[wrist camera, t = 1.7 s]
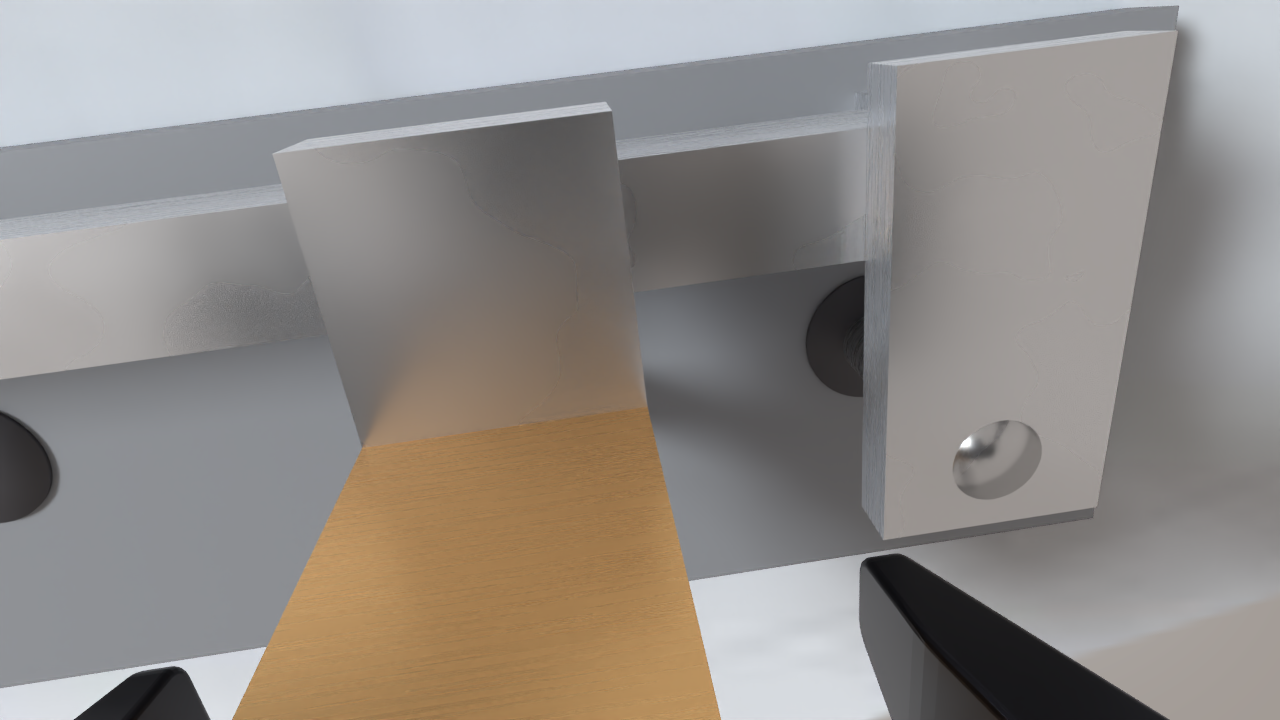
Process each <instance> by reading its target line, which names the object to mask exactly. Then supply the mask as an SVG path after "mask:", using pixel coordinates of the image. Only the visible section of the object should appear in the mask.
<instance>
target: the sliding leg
mask: <svg viewBox="0 0 1280 720" xmlns="http://www.w3.org/2000/svg"><path fill="white" fill-rule="evenodd" d="M272 155H273V158H274V161H275V164H276V168H277V171H278V174H279V178H280V181H281V184H282V187H283V191H284V194H285V197H286V200H287V204H288V207H289V210H290V214H291V217H292V220H293V223H294V227H295V230H296V233H297V236H298V240H299V243H300V246H301V250H302V253H303V256H304V259H305V263H306V266H307V269H308V272H309V276H310V279H311V282H312V286H313V289H314V292H315V295H316V299H317V302H318V305H319V308H320V312H321V315H322V318H323V322H324V325H325V328H326V331H327V335H328V338H329V341H330V344H331V348H332V351H333V354H334V358H335V361H336V364H337V367H338V371H339V374H340V377H341V380H342V384H343V387H344V390H345V394H346V397H347V400H348V403H349V407H350V410H351V413H352V416H353V420H354V423H355V426H356V429H357V433H358V436H359V439H360V443H361V446H362V449H361V451H360V454H359V456H358V458H357V460H356V462H355V464H354V466H353V468H352V470H351V472H350V474H349V477H348V479H347V481H346V483H345V485H344V487H343V489H342V491H341V493H340V495H339V497H338V500H337V502H336V504H335V506H334V508H333V510H332V512H331V514H330V516H329V518H328V520H327V523H326V525H325V527H324V529H323V531H322V533H321V535H320V537H319V539H318V541H317V543H316V546H315V548H314V550H313V552H312V554H311V556H310V558H309V560H308V562H307V564H306V566H305V568H304V571H303V573H302V575H301V577H300V579H299V581H298V583H297V585H296V587H295V589H294V591H293V594H292V596H291V598H290V600H289V602H288V604H287V606H286V608H285V610H284V612H283V614H282V617H281V619H280V621H279V623H278V625H277V627H276V629H275V631H274V633H273V635H272V637H271V640H270V642H269V644H268V646H267V648H266V650H265V652H264V654H263V656H262V658H261V660H260V663H259V665H258V667H257V669H256V671H255V673H254V675H253V677H252V679H251V681H250V683H249V686H248V688H247V690H246V692H245V694H244V696H243V698H242V700H241V702H240V704H239V706H238V708H237V711H236V713H235V715H234V717H233V719H232V720H721V717H720V713H719V709H718V705H717V700H716V696H715V692H714V688H713V683H712V679H711V675H710V671H709V666H708V662H707V658H706V654H705V649H704V645H703V641H702V637H701V632H700V628H699V624H698V620H697V615H696V611H695V607H694V603H693V598H692V594H691V590H690V586H689V581H688V577H687V573H686V568H685V564H684V560H683V556H682V551H681V547H680V543H679V539H678V534H677V530H676V526H675V522H674V517H673V513H672V509H671V505H670V500H669V496H668V492H667V488H666V483H665V479H664V475H663V471H662V466H661V462H660V458H659V454H658V449H657V445H656V441H655V437H654V432H653V428H652V424H651V420H650V415H649V411H648V407H647V399H646V390H645V382H644V374H643V365H642V357H641V349H640V340H639V332H638V324H637V315H636V307H635V299H634V290H633V282H632V274H631V265H630V257H629V249H628V240H627V232H626V224H625V216H624V207H623V199H622V191H621V182H620V174H619V166H618V157H617V149H616V141H615V132H614V124H613V116H612V110H611V109H610V107H609V106H608V104H607V103H606V102H599V103H591V104H583V105H575V106H568V107H560V108H552V109H544V110H536V111H528V112H520V113H512V114H504V115H496V116H488V117H480V118H472V119H464V120H456V121H448V122H440V123H432V124H424V125H416V126H408V127H401V128H393V129H385V130H377V131H369V132H361V133H353V134H345V135H337V136H329V137H321V138H313V139H307V140H304V141H302V142H300V143H297V144H295V145H292V146H290V147H288V148H285V149H283V150H280V151H278V152H275V153H273V154H272Z"/></svg>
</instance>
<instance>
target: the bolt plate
mask: <svg viewBox="0 0 1280 720" xmlns="http://www.w3.org/2000/svg"><path fill="white" fill-rule="evenodd" d="M1178 10H1179V6H1160V7H1138V8H1123V9H1115V10H1107V11H1099V12H1091V13H1083V14H1075V15H1067V16H1059V17H1051V18H1043V19H1035V20H1027V21H1018V22H1010V23H1002V24H994V25H986V26H978V27H970V28H962V29H954V30H946V31H938V32H930V33H922V34H914V35H906V36H897V37H889V38H881V39H873V40H865V41H857V42H849V43H841V44H833V45H825V46H817V47H809V48H801V49H793V50H785V51H777V52H768V53H760V54H752V55H744V56H736V57H728V58H720V59H712V60H704V61H696V62H688V63H680V64H672V65H664V66H656V67H647V68H639V69H631V70H623V71H615V72H607V73H599V74H591V75H583V76H575V77H567V78H559V79H551V80H543V81H535V82H526V83H518V84H510V85H502V86H494V87H486V88H478V89H470V90H462V91H454V92H446V93H438V94H430V95H422V96H414V97H405V98H397V99H389V100H381V101H373V102H365V103H357V104H349V105H341V106H333V107H325V108H317V109H309V110H301V111H293V112H284V113H276V114H268V115H260V116H252V117H244V118H236V119H228V120H220V121H212V122H204V123H196V124H188V125H180V126H172V127H164V128H155V129H147V130H139V131H131V132H123V133H115V134H107V135H99V136H91V137H83V138H75V139H67V140H59V141H51V142H43V143H34V144H26V145H18V146H10V147H2V148H0V220H2V219H10V218H18V217H25V216H33V215H41V214H49V213H57V212H64V211H72V210H80V209H88V208H96V207H103V206H111V205H119V204H127V203H135V202H142V201H150V200H158V199H166V198H174V197H181V196H189V195H197V194H205V193H213V192H220V191H228V190H236V189H244V188H252V187H259V186H267V185H275V184H281V181H280V178H279V174H278V171H277V168H276V164H275V161H274V158H273V155H272V154H273V153H275V152H278V151H280V150H283V149H285V148H288V147H290V146H292V145H295V144H297V143H300V142H302V141H304V140H307V139H313V138H321V137H329V136H337V135H345V134H353V133H361V132H369V131H377V130H385V129H393V128H401V127H408V126H416V125H424V124H432V123H440V122H448V121H456V120H464V119H472V118H480V117H488V116H496V115H504V114H512V113H520V112H528V111H536V110H544V109H552V108H560V107H568V106H575V105H583V104H591V103H599V102H606V103H607V104H608V106H609V107H610V109H611V110H612V116H613V124H614V132H615V141H618V140H626V139H634V138H641V137H649V136H657V135H665V134H673V133H680V132H688V131H696V130H704V129H712V128H719V127H727V126H735V125H743V124H751V123H758V122H766V121H774V120H782V119H790V118H797V117H805V116H813V115H821V114H829V113H836V112H844V111H852V110H855V93H858V92H865V91H867V82H868V63H873V62H881V61H889V60H897V59H905V58H913V57H921V56H929V55H937V54H945V53H953V52H961V51H969V50H977V49H985V48H993V47H1001V46H1009V45H1017V44H1025V43H1033V42H1041V41H1048V40H1056V39H1064V38H1072V37H1080V36H1088V35H1096V34H1104V33H1112V32H1120V31H1175V27H1176V22H1177V16H1178ZM864 297H865V261H858V262H851V263H844V264H836V265H829V266H822V267H815V268H807V269H800V270H793V271H785V272H778V273H771V274H764V275H756V276H749V277H742V278H735V279H727V280H720V281H713V282H706V283H698V284H691V285H684V286H676V287H669V288H662V289H655V290H647V291H640V292H634V299H635V307H636V315H637V324H638V332H639V340H640V349H641V357H642V365H643V374H644V382H645V390H646V399H647V407H648V411H649V415H650V420H651V424H652V428H653V432H654V437H655V441H656V445H657V449H658V454H659V458H660V462H661V466H662V471H663V475H664V479H665V483H666V488H667V492H668V496H669V500H670V505H671V509H672V513H673V517H674V522H675V526H676V530H677V534H678V539H679V543H680V547H681V551H682V556H683V560H684V564H685V568H686V573H687V577H688V581H691V580H698V579H704V578H711V577H717V576H723V575H730V574H736V573H743V572H749V571H755V570H762V569H768V568H775V567H781V566H788V565H794V564H800V563H807V562H813V561H820V560H826V559H833V558H839V557H845V556H852V555H858V554H865V553H871V552H877V551H884V550H890V549H897V548H903V547H910V546H916V545H922V544H929V543H935V542H942V541H948V540H954V539H961V538H967V537H974V536H980V535H987V534H993V533H999V532H1006V531H1012V530H1019V529H1025V528H1032V527H1038V526H1044V525H1051V524H1057V523H1064V522H1070V521H1076V520H1083V519H1089V518H1093V514H1094V508H1095V507H1094V508H1088V509H1081V510H1075V511H1068V512H1062V513H1056V514H1049V515H1043V516H1036V517H1030V518H1023V519H1017V520H1010V521H1004V522H998V523H991V524H985V525H978V526H972V527H965V528H959V529H952V530H946V531H940V532H933V533H927V534H920V535H914V536H907V537H901V538H894V539H888V540H883V539H882V537H881V536H880V534H879V532H878V531H877V529H876V528H875V526H874V525H873V523H872V521H871V520H870V518H869V517H868V515H867V514H866V512H865V511H864V509H863V507H862V440H863V379H862V378H861V376H860V375H859V374H858V373H857V372H856V371H855V370H854V368H853V367H852V366H851V365H850V364H849V363H848V361H847V360H846V358H845V355H844V350H843V344H844V339H845V336H846V334H847V332H848V330H849V328H850V327H851V326H852V325H853V323H854V322H855V321H857V320H858V319H859V318H861V317H862V316H864ZM361 449H362V446H361V443H360V439H359V436H358V433H357V429H356V426H355V423H354V420H353V416H352V413H351V410H350V407H349V403H348V400H347V397H346V394H345V390H344V387H343V384H342V380H341V377H340V374H339V371H338V367H337V364H336V361H335V358H334V354H333V351H332V348H331V344H330V341H329V338H328V335H320V336H313V337H306V338H299V339H291V340H284V341H277V342H270V343H262V344H255V345H248V346H240V347H233V348H226V349H219V350H211V351H204V352H197V353H190V354H182V355H175V356H168V357H161V358H153V359H146V360H139V361H131V362H124V363H117V364H110V365H102V366H95V367H88V368H81V369H73V370H66V371H59V372H52V373H44V374H37V375H30V376H22V377H15V378H8V379H1V380H0V688H4V687H11V686H17V685H24V684H30V683H36V682H43V681H49V680H56V679H62V678H68V677H75V676H81V675H88V674H94V673H101V672H107V671H113V670H120V669H126V668H133V667H139V666H146V665H152V664H158V663H165V662H171V661H178V660H184V659H190V658H197V657H203V656H210V655H216V654H223V653H229V652H235V651H242V650H248V649H255V648H261V647H267V646H268V644H269V642H270V640H271V637H272V635H273V633H274V631H275V629H276V627H277V625H278V623H279V621H280V619H281V617H282V614H283V612H284V610H285V608H286V606H287V604H288V602H289V600H290V598H291V596H292V594H293V591H294V589H295V587H296V585H297V583H298V581H299V579H300V577H301V575H302V573H303V571H304V568H305V566H306V564H307V562H308V560H309V558H310V556H311V554H312V552H313V550H314V548H315V546H316V543H317V541H318V539H319V537H320V535H321V533H322V531H323V529H324V527H325V525H326V523H327V520H328V518H329V516H330V514H331V512H332V510H333V508H334V506H335V504H336V502H337V500H338V497H339V495H340V493H341V491H342V489H343V487H344V485H345V483H346V481H347V479H348V477H349V474H350V472H351V470H352V468H353V466H354V464H355V462H356V460H357V458H358V456H359V454H360V451H361Z"/></svg>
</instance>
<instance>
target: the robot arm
mask: <svg viewBox="0 0 1280 720" xmlns="http://www.w3.org/2000/svg"><path fill="white" fill-rule="evenodd" d="M859 622H860V629H861V634H862V638H863V641H864V644H865V647H866V650H867V653H868V655H869V658H870V661H871V664H872V667H873V669H874V672H875V675H876V678H877V680H878V683H879V686H880V689H881V691H882V694H883V697H884V700H885V702H886V705H887V708H888V711H889V713H890V716H891V719H892V720H1169V719H1167V718H1166V717H1164V716H1163V715H1161V714H1160V713H1158V712H1156V711H1154V710H1153V709H1151V708H1150V707H1148V706H1147V705H1145V704H1143V703H1142V702H1140V701H1139V700H1137V699H1135V698H1134V697H1132V696H1131V695H1129V694H1127V693H1126V692H1124V691H1123V690H1121V689H1119V688H1118V687H1116V686H1114V685H1113V684H1111V683H1110V682H1108V681H1106V680H1105V679H1103V678H1102V677H1100V676H1098V675H1097V674H1095V673H1094V672H1092V671H1090V670H1089V669H1087V668H1085V667H1084V666H1082V665H1081V664H1079V663H1077V662H1076V661H1074V660H1073V659H1071V658H1069V657H1068V656H1066V655H1065V654H1063V653H1061V652H1060V651H1058V650H1057V649H1055V648H1053V647H1052V646H1050V645H1048V644H1047V643H1045V642H1044V641H1042V640H1040V639H1039V638H1037V637H1036V636H1034V635H1032V634H1031V633H1029V632H1028V631H1026V630H1024V629H1023V628H1021V627H1020V626H1018V625H1016V624H1015V623H1013V622H1011V621H1010V620H1008V619H1007V618H1005V617H1003V616H1002V615H1000V614H999V613H997V612H995V611H994V610H992V609H991V608H989V607H987V606H986V605H984V604H982V603H981V602H979V601H978V600H976V599H974V598H973V597H971V596H970V595H968V594H966V593H965V592H963V591H962V590H960V589H958V588H957V587H955V586H954V585H952V584H950V583H949V582H947V581H945V580H944V579H942V578H941V577H939V576H937V575H936V574H934V573H933V572H931V571H929V570H928V569H926V568H925V567H923V566H921V565H920V564H918V563H916V562H915V561H913V560H912V559H910V558H908V557H907V556H905V555H902V554H889V555H882V556H876V557H870V558H866V559H865V560H864V561H863V562H862V564H861V567H860V590H859ZM74 720H210V718H209V716H208V714H207V712H206V710H205V708H204V706H203V704H202V701H201V699H200V697H199V695H198V693H197V691H196V689H195V687H194V685H193V683H192V681H191V679H190V677H189V675H188V674H187V672H186V671H184V670H183V669H182V668H180V667H175V666H172V667H165V668H159V669H152V670H146V671H141V672H138V673H135V674H133V675H131V676H130V677H128V678H127V679H126V680H125V681H123V682H122V683H121V684H119V685H118V686H117V687H115V688H114V689H113V690H112V691H110V692H109V693H108V694H106V695H105V696H104V697H103V698H101V699H100V700H99V701H97V702H96V703H95V704H93V705H92V706H91V707H90V708H88V709H87V710H86V711H84V712H83V713H82V714H81V715H79V716H78V717H77V718H75V719H74Z"/></svg>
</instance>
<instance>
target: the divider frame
mask: <svg viewBox="0 0 1280 720" xmlns="http://www.w3.org/2000/svg"><path fill="white" fill-rule="evenodd" d="M1177 35H1178V31H1120V32H1112V33H1104V34H1096V35H1088V36H1080V37H1072V38H1064V39H1056V40H1048V41H1041V42H1033V43H1025V44H1017V45H1009V46H1001V47H993V48H985V49H977V50H969V51H961V52H953V53H945V54H937V55H929V56H921V57H913V58H905V59H897V60H889V61H881V62H873V63H868V82H867V91H865V92H858V93H855V110H852V111H844V112H836V113H829V114H821V115H813V116H805V117H797V118H790V119H782V120H774V121H766V122H758V123H751V124H743V125H735V126H727V127H719V128H712V129H704V130H696V131H688V132H680V133H673V134H665V135H657V136H649V137H641V138H634V139H626V140H618V141H616V149H617V157H618V166H619V174H620V182H621V191H622V199H623V207H624V216H625V224H626V232H627V240H628V249H629V257H630V265H631V274H632V282H633V290H634V292H640V291H647V290H655V289H662V288H669V287H676V286H684V285H691V284H698V283H706V282H713V281H720V280H727V279H735V278H742V277H749V276H756V275H764V274H771V273H778V272H785V271H793V270H800V269H807V268H815V267H822V266H829V265H836V264H844V263H851V262H858V261H865V297H864V316H862V317H861V318H859V319H858V320H857V321H855V322H854V323H853V325H852V326H851V327H850V328H849V330H848V332H847V334H846V336H845V339H844V344H843V350H844V355H845V358H846V360H847V361H848V363H849V364H850V365H851V366H852V367H853V368H854V370H855V371H856V372H857V373H858V374H859V375H860V376H861V378H862V379H863V440H862V507H863V509H864V511H865V512H866V514H867V515H868V517H869V518H870V520H871V521H872V523H873V525H874V526H875V528H876V529H877V531H878V532H879V534H880V536H881V537H882V539H883V540H888V539H894V538H901V537H907V536H914V535H920V534H927V533H933V532H940V531H946V530H952V529H959V528H965V527H972V526H978V525H985V524H991V523H998V522H1004V521H1010V520H1017V519H1023V518H1030V517H1036V516H1043V515H1049V514H1056V513H1062V512H1068V511H1075V510H1081V509H1088V508H1094V507H1097V504H1098V499H1099V493H1100V487H1101V481H1102V475H1103V469H1104V463H1105V457H1106V452H1107V446H1108V440H1109V434H1110V428H1111V422H1112V416H1113V411H1114V405H1115V399H1116V393H1117V387H1118V381H1119V375H1120V369H1121V364H1122V358H1123V352H1124V346H1125V340H1126V334H1127V328H1128V322H1129V317H1130V311H1131V305H1132V299H1133V293H1134V287H1135V281H1136V275H1137V270H1138V264H1139V258H1140V252H1141V246H1142V240H1143V234H1144V228H1145V223H1146V217H1147V211H1148V205H1149V199H1150V193H1151V187H1152V181H1153V176H1154V170H1155V164H1156V158H1157V152H1158V146H1159V140H1160V134H1161V129H1162V123H1163V117H1164V111H1165V105H1166V99H1167V93H1168V88H1169V82H1170V76H1171V70H1172V64H1173V58H1174V52H1175V46H1176V41H1177ZM320 335H327V331H326V328H325V325H324V322H323V318H322V315H321V312H320V308H319V305H318V302H317V299H316V295H315V292H314V289H313V286H312V282H311V279H310V276H309V272H308V269H307V266H306V263H305V259H304V256H303V253H302V250H301V246H300V243H299V240H298V236H297V233H296V230H295V227H294V223H293V220H292V217H291V214H290V210H289V207H288V204H287V200H286V197H285V194H284V191H283V187H282V184H275V185H267V186H259V187H252V188H244V189H236V190H228V191H220V192H213V193H205V194H197V195H189V196H181V197H174V198H166V199H158V200H150V201H142V202H135V203H127V204H119V205H111V206H103V207H96V208H88V209H80V210H72V211H64V212H57V213H49V214H41V215H33V216H25V217H18V218H10V219H2V220H0V380H1V379H8V378H15V377H22V376H30V375H37V374H44V373H52V372H59V371H66V370H73V369H81V368H88V367H95V366H102V365H110V364H117V363H124V362H131V361H139V360H146V359H153V358H161V357H168V356H175V355H182V354H190V353H197V352H204V351H211V350H219V349H226V348H233V347H240V346H248V345H255V344H262V343H270V342H277V341H284V340H291V339H299V338H306V337H313V336H320Z"/></svg>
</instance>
